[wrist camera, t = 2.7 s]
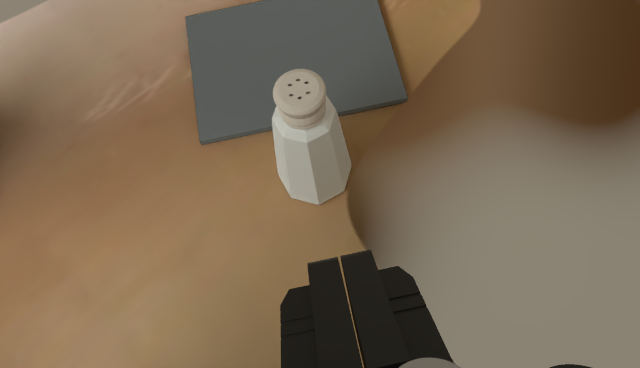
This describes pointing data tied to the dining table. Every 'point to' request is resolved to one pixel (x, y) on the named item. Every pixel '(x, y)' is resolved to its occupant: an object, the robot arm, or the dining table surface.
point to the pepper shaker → (308, 138)
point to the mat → (287, 60)
